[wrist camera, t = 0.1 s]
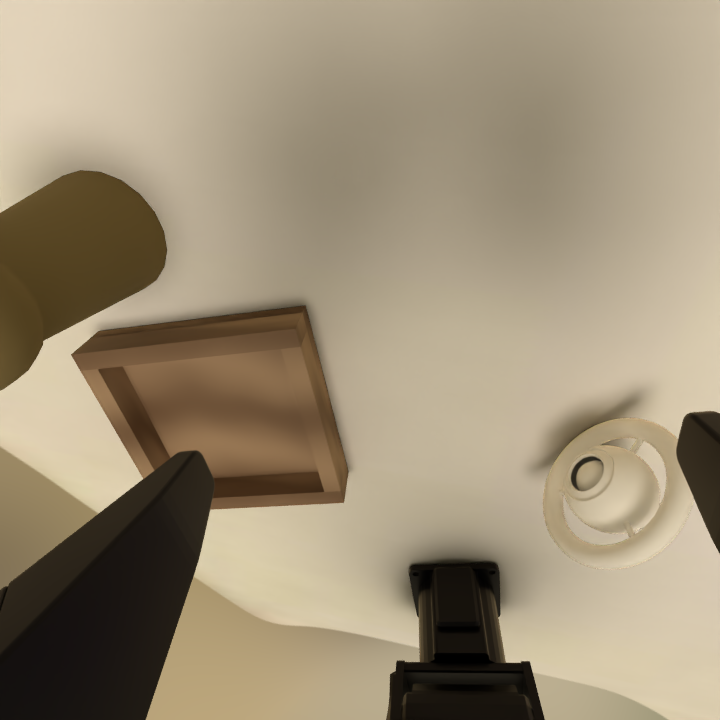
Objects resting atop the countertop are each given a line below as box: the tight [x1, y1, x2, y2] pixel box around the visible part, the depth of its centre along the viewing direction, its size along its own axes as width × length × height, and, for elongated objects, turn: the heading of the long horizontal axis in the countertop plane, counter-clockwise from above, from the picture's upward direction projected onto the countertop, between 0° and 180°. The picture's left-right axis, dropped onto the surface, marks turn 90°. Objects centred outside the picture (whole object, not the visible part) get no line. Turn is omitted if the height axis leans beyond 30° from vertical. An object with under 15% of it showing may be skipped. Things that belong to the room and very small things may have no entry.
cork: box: [0, 170, 167, 390], centre depth 18 cm, size 6×6×11 cm
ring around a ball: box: [543, 418, 694, 570], centre depth 24 cm, size 8×6×8 cm
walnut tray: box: [71, 306, 348, 509], centre depth 27 cm, size 12×12×2 cm
